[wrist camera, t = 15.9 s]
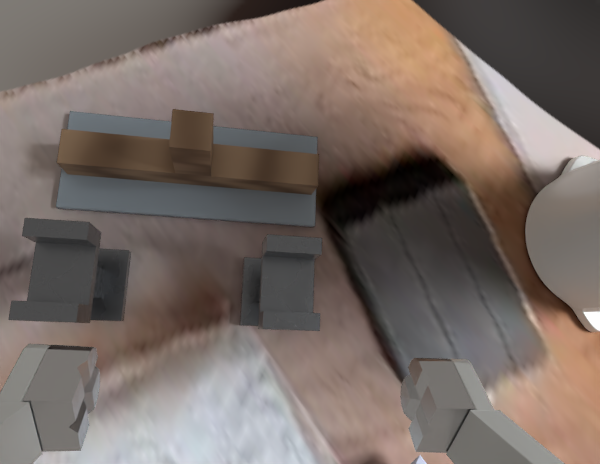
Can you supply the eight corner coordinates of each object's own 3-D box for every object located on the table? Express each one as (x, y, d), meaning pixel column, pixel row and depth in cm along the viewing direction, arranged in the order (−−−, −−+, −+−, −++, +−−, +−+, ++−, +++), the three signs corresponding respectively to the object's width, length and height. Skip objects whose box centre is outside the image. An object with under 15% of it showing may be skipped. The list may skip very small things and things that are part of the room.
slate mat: (316, 139, 47) (317, 137, 47) (313, 227, 45) (315, 225, 45) (71, 114, 43) (70, 111, 43) (58, 208, 41) (55, 206, 41)
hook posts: (307, 259, 45) (335, 239, 34) (305, 330, 43) (333, 331, 33) (59, 244, 41) (8, 216, 31) (48, 321, 40) (-9, 319, 29)
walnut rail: (312, 165, 46) (335, 127, 37) (311, 194, 45) (334, 162, 37) (72, 142, 42) (35, 94, 34) (67, 174, 42) (29, 133, 33)
